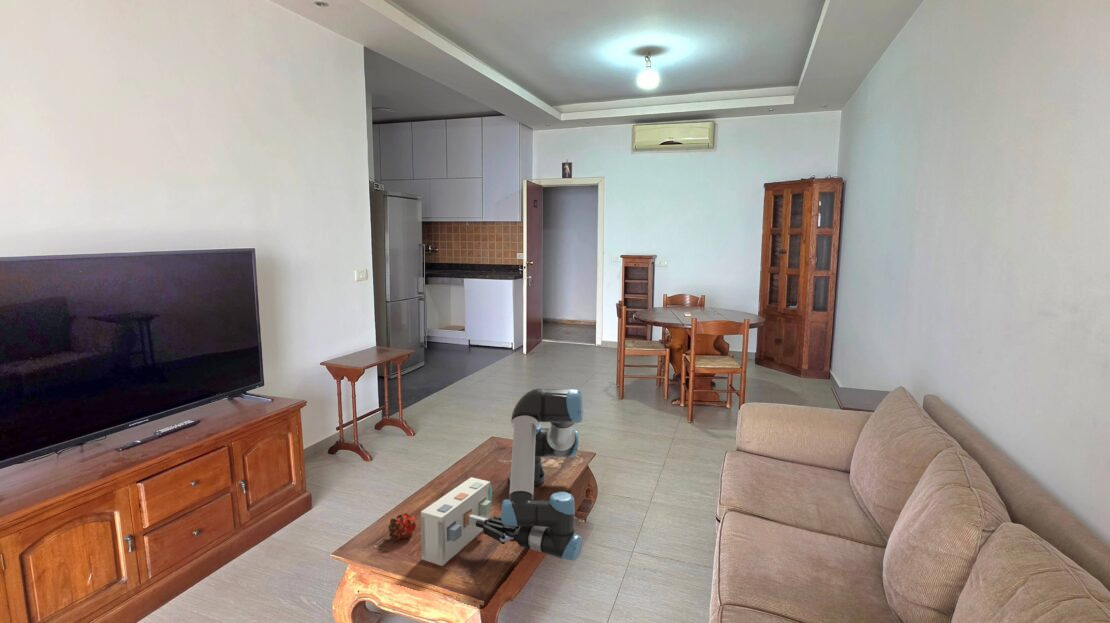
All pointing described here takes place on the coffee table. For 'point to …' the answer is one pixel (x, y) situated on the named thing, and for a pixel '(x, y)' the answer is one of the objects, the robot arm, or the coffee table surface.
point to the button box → (451, 520)
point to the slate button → (454, 531)
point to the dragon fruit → (402, 526)
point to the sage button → (484, 507)
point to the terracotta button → (466, 518)
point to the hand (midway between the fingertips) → (469, 519)
